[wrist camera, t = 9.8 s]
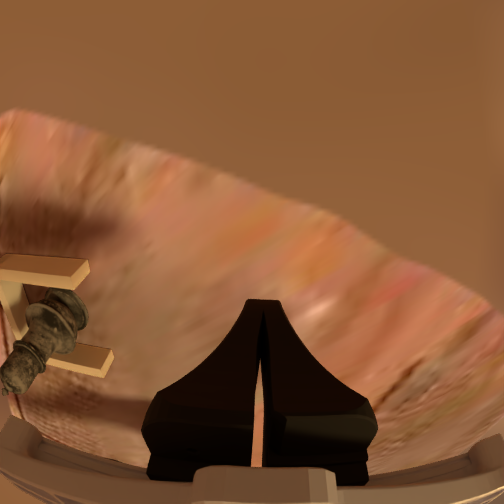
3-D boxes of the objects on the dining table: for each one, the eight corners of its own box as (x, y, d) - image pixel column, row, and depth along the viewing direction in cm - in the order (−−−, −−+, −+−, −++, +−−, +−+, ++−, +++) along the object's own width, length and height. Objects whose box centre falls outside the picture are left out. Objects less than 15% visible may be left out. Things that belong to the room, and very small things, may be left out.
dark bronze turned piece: (54, 328, 28) (-2, 408, 17) (36, 281, 25) (-36, 358, 15) (98, 335, 28) (45, 428, 17) (81, 284, 25) (9, 376, 14)
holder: (114, 357, 29) (103, 378, 26) (37, 341, 29) (25, 357, 27) (87, 259, 24) (70, 276, 21) (6, 253, 24) (-12, 267, 22)
